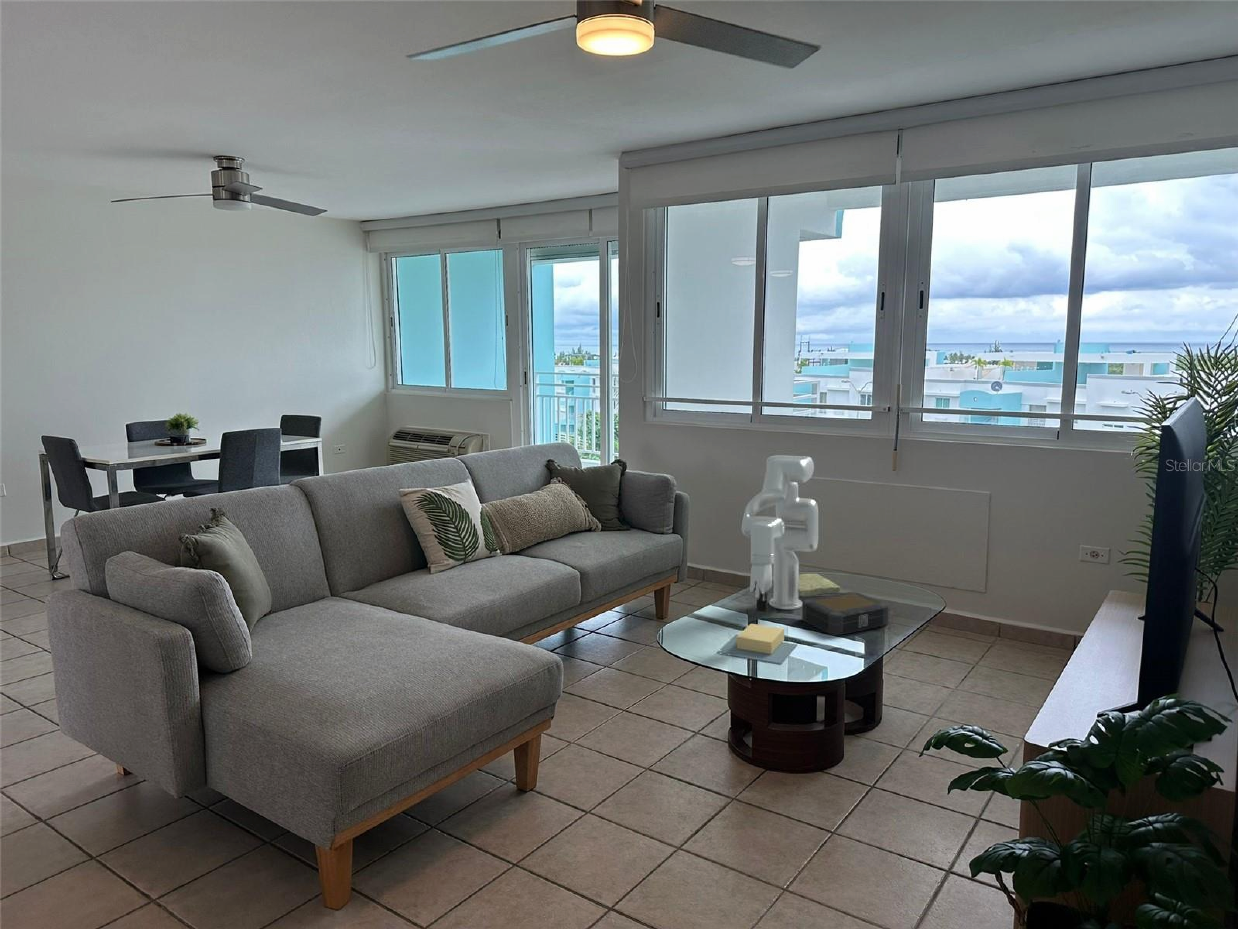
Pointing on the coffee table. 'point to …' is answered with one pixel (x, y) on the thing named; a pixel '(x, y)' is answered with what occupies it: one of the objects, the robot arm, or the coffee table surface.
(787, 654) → the mat
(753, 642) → the pale yellow block
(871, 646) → the coffee table surface
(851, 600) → the cash box
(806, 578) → the decorative tile
